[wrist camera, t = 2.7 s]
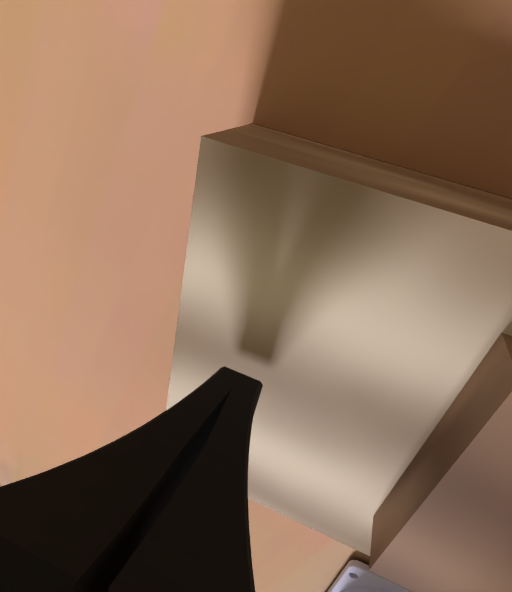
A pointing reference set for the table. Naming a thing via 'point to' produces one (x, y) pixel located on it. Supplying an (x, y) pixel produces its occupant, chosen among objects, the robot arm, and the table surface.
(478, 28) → the table surface
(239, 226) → the tan flat block
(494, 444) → the walnut tile
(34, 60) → the table surface
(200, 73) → the table surface
